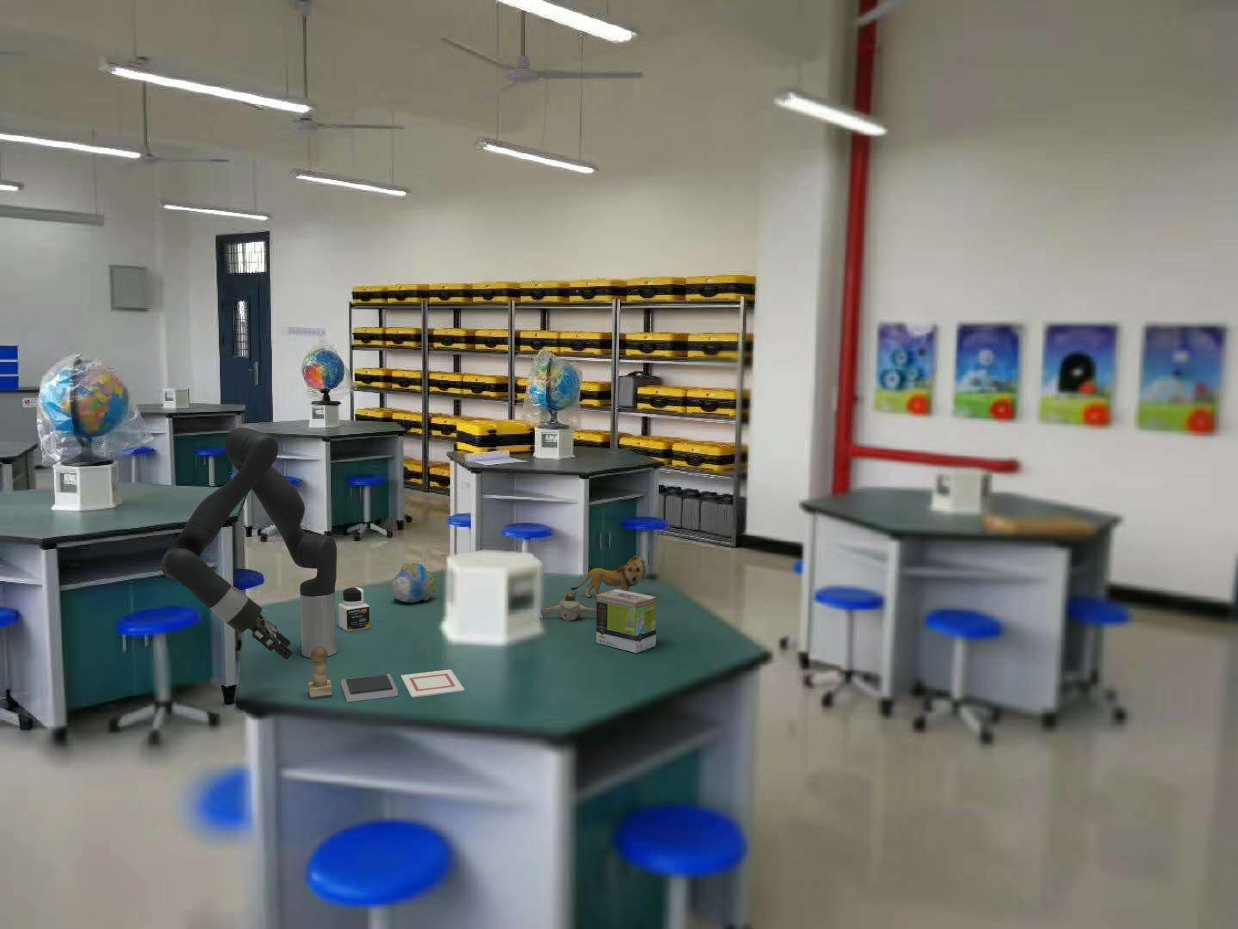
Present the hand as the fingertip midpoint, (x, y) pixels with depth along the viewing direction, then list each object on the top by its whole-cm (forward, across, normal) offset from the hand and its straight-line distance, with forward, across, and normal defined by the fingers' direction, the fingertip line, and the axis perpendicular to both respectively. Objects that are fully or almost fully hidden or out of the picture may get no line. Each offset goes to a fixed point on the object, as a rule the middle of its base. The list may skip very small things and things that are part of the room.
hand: (288, 650), depth 231 cm
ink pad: (+21, -2, -5) cm, 22 cm away
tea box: (+74, +11, -57) cm, 94 cm away
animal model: (+84, +62, -67) cm, 123 cm away
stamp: (+13, 0, +4) cm, 14 cm away
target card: (+32, -2, -16) cm, 36 cm away
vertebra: (+70, +43, -52) cm, 97 cm away
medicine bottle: (+24, +55, -6) cm, 60 cm away
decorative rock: (+39, +80, -22) cm, 92 cm away
